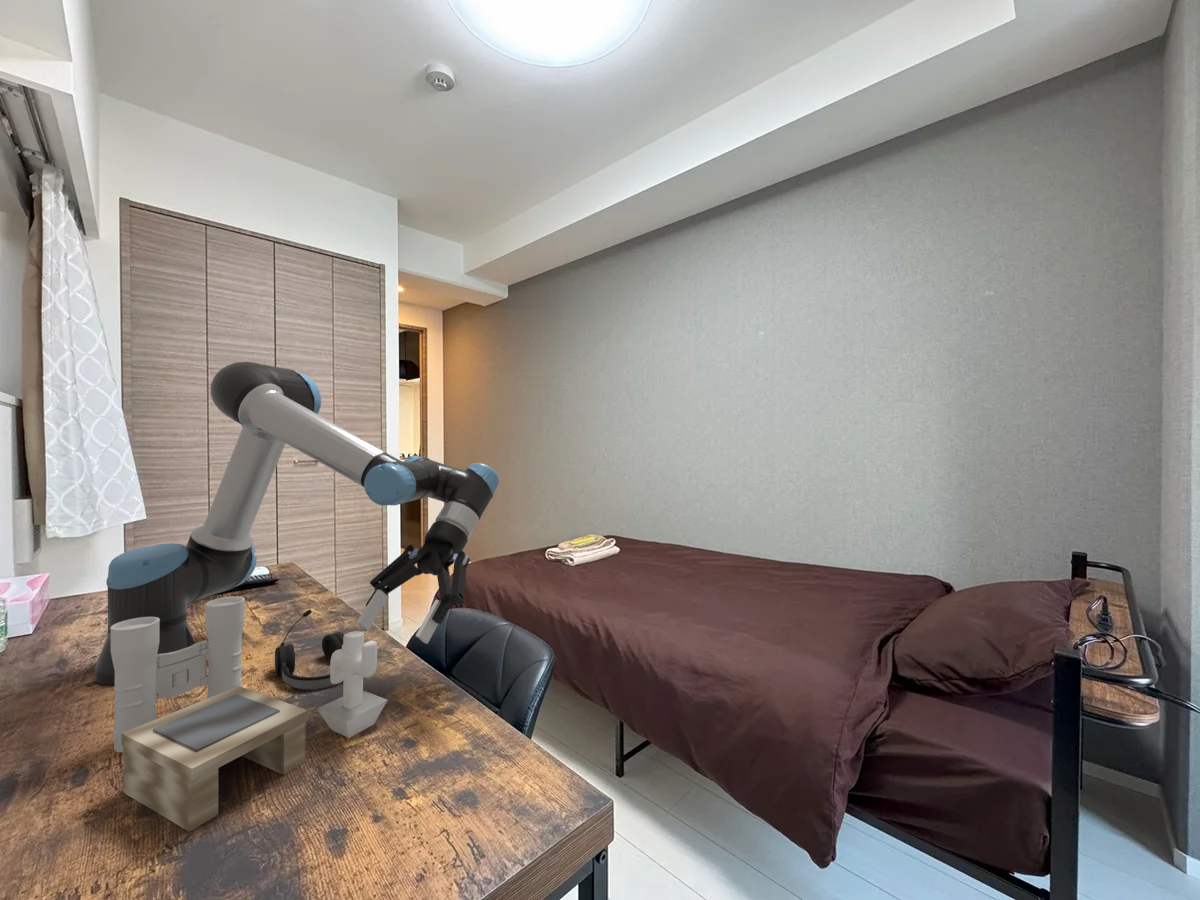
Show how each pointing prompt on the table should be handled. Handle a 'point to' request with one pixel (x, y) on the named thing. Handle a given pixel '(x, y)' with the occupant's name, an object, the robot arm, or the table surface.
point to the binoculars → (173, 663)
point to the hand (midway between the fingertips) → (390, 633)
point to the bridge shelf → (208, 751)
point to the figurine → (353, 687)
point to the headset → (287, 662)
